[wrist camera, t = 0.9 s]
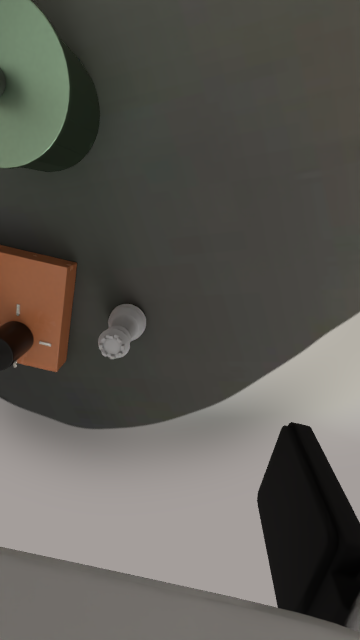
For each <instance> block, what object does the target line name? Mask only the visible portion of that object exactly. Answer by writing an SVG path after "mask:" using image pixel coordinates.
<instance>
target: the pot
mask: <svg viewBox="0 0 360 640" xmlns="http://www.w3.org/2000/svg"><path fill="white" fill-rule="evenodd" d="M59 39H60V38H59ZM60 41H61V43H62V46H63V48H64V50H65V53H66V57H67V60H68V64H69V69H70V75H71V85H72V96H71V106H70V113H69V116H68V120H67V123H66V126H65V128H64V131H63V133H62V135H61V136H60V138H59V140H58V141H57V143H56V144H55V145H54V147H53V148H52V149H51V150H50V151H49V152H48V153H47V154H46V155H45V156H43V157H42V158H40V159H39V160H37V161H36V162H33V163H31V164H29V165H26V166H23V167H22V168H28V169H33V170H39V171H45V172H52V171H61V170H64V169H67V168H70V167H72V166H74V165H75V164H77V163H78V162H79V161H81V160H82V159H83V158H84V157H85V156H86V154H87V153H88V152H89V150H90V149H91V147H92V145H93V143H94V141H95V139H96V135H97V132H98V127H99V119H100V111H99V102H98V97H97V93H96V89H95V87H94V84H93V82H92V80H91V78H90V76H89V74H88V73H87V71H86V70H85V68H84V67H83V65H82V64H81V62H80V60H79V59H78V58H77V57H76V56H75V55H74V54H73V53H72V51H71V50H70V49H69V48H68V47H67V46H66V45H65V44H64V43H63V41H62V40H61V39H60Z"/></svg>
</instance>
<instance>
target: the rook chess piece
mask: <svg viewBox="0 0 360 640" xmlns="http://www.w3.org/2000/svg"><path fill="white" fill-rule="evenodd" d="M108 324H109V328H108V329H107V330H105V331H104V332H103V333H102V334H101V335H100V337H99V339H98V344H99V349H100V350H101V351H102V355H104V356H105V357H106V356H108V357H110V359H115V358H120V357H123V356H124V355H125V354H127V353H128V351H129V348H130V342H131V341H132V340H135V339H137V338H138V337H139V336H140V335H142V333H143V332H144V330H145V327H146V318H145V315H144V313H143V312H142V311H141V310H140V309H139V308H138V307H136V306H134V305H132V304H122V305H119V306H117V307H116V308H115V309H114V310H113V311H112V313H111V314H110V317H109V320H108Z"/></svg>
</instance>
